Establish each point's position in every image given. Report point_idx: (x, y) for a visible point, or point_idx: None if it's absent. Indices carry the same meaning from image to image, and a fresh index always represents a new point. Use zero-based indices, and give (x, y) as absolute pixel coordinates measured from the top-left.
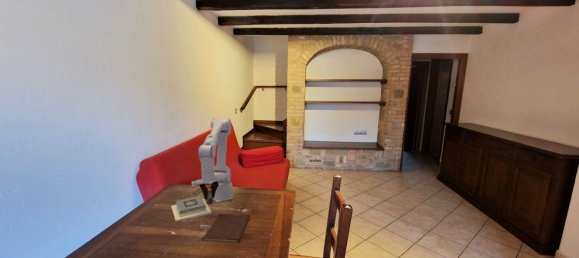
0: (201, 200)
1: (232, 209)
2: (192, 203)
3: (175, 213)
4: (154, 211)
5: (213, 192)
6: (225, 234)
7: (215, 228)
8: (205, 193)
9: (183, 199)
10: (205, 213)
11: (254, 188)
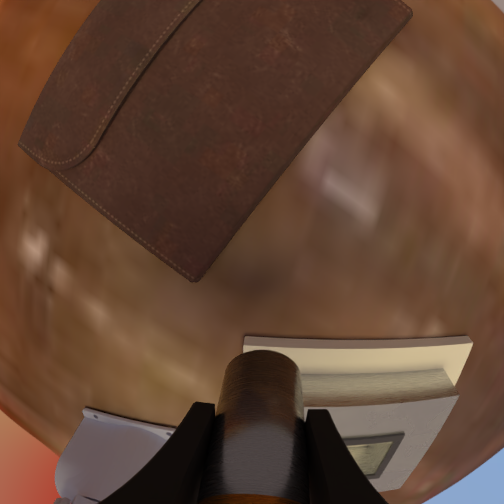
0: None
1: (95, 305)
2: None
3: None
4: (461, 450)
5: (187, 468)
6: None
7: (299, 56)
8: (341, 484)
9: None
10: (290, 345)
11: (6, 411)
